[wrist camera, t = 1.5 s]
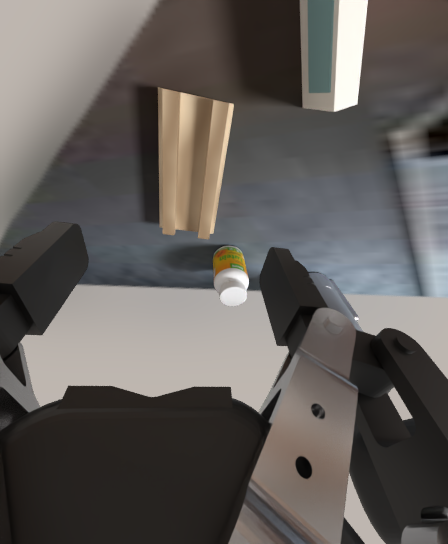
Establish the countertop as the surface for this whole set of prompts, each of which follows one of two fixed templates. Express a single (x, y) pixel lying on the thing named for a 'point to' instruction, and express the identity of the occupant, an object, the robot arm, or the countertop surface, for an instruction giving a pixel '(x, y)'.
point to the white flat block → (331, 52)
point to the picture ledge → (191, 160)
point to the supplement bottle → (230, 275)
